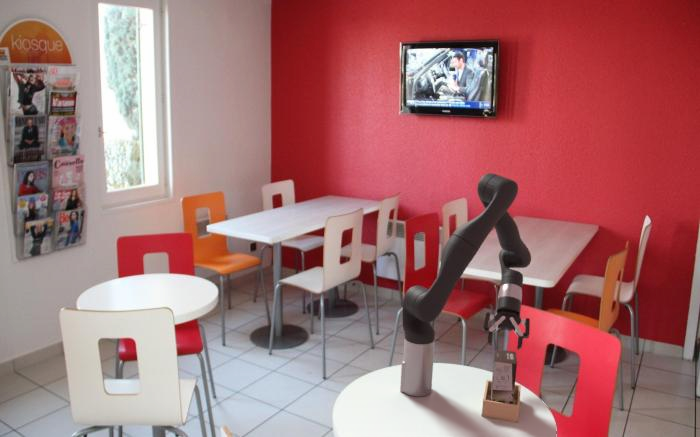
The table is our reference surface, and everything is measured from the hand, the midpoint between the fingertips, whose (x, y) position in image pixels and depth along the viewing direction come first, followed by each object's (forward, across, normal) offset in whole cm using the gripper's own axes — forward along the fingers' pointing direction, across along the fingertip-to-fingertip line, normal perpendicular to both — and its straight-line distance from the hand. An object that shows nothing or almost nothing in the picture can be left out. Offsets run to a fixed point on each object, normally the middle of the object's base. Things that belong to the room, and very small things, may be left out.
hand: (504, 346), depth 199 cm
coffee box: (+19, +1, 0) cm, 19 cm away
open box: (+20, +1, 0) cm, 20 cm away
